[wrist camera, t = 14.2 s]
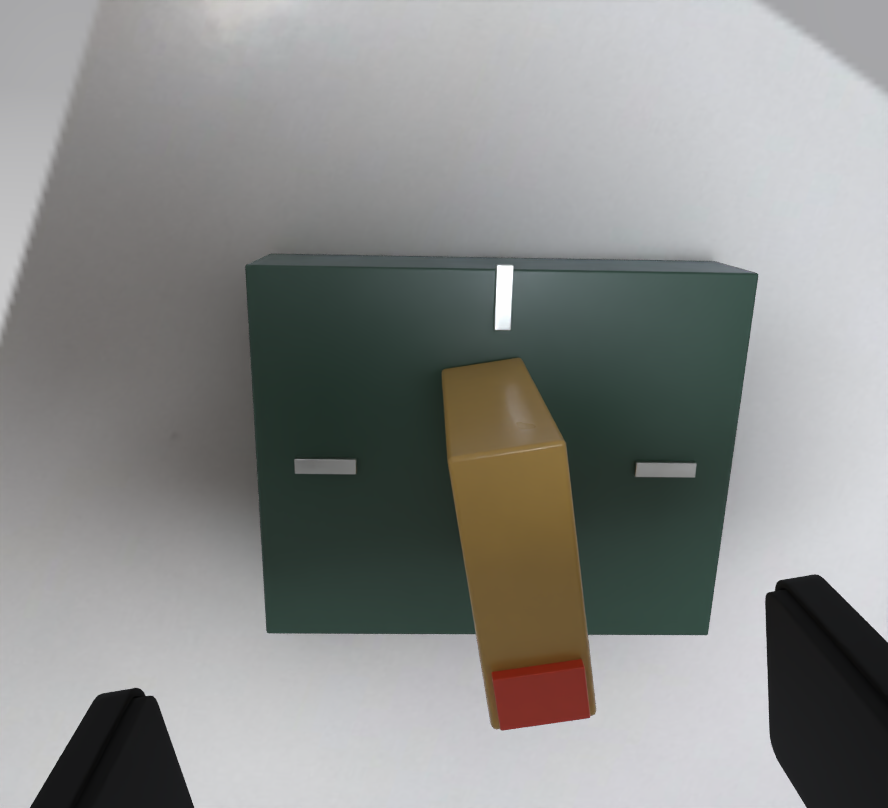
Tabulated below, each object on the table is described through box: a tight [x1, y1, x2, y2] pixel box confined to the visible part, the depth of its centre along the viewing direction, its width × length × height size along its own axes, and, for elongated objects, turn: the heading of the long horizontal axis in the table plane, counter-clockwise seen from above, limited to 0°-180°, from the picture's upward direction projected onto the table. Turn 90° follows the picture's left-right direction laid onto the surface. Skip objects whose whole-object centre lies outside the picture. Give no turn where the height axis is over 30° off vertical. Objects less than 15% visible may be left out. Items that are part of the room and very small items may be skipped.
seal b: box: [441, 358, 596, 730], centre depth 14 cm, size 5×2×6 cm, turn 9°
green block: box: [245, 254, 758, 635], centre depth 18 cm, size 11×9×3 cm
